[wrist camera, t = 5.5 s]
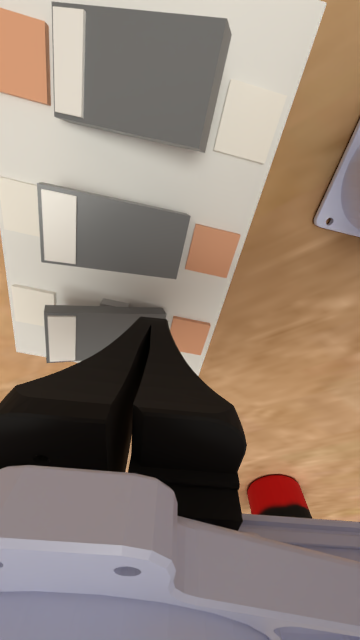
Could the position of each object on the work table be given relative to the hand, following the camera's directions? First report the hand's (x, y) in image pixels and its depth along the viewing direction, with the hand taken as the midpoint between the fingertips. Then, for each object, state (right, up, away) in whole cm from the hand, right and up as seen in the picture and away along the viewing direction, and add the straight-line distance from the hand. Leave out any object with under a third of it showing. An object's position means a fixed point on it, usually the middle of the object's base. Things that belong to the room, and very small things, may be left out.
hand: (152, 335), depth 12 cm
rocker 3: (-4, 0, +6) cm, 7 cm away
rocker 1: (-1, +12, -1) cm, 12 cm away
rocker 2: (-2, +6, +3) cm, 7 cm away
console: (-2, +8, +6) cm, 10 cm away
